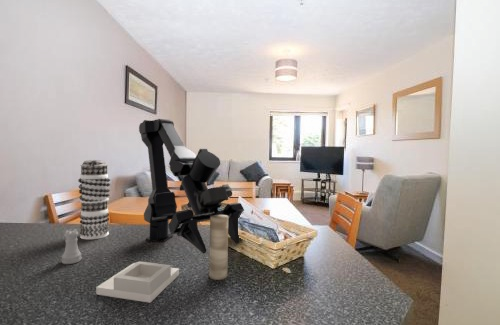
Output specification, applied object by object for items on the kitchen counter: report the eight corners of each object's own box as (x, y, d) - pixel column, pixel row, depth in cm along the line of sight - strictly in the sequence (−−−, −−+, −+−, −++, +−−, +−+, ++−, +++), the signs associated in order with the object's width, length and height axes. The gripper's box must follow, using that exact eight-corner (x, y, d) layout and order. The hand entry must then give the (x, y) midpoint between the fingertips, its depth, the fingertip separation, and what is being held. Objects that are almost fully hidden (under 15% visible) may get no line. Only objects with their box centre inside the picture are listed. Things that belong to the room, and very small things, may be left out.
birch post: (212, 270, 66) (213, 214, 66) (229, 272, 66) (230, 215, 65) (206, 278, 62) (207, 218, 62) (224, 280, 62) (225, 219, 61)
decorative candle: (88, 241, 84) (87, 161, 83) (73, 236, 89) (72, 160, 88) (115, 234, 92) (115, 160, 91) (100, 229, 97) (100, 159, 96)
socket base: (133, 269, 66) (133, 252, 66) (179, 274, 64) (179, 258, 64) (96, 294, 55) (96, 274, 54) (150, 302, 52) (150, 282, 52)
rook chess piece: (71, 265, 68) (71, 234, 67) (56, 263, 68) (56, 232, 68) (86, 258, 72) (85, 228, 71) (71, 257, 73) (71, 227, 72)
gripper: (174, 175, 60) (200, 238, 52) (240, 172, 72) (269, 222, 64) (159, 205, 66) (180, 264, 58) (222, 197, 78) (246, 245, 71)
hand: (222, 248), depth 63 cm, fingers open, 9 cm apart
